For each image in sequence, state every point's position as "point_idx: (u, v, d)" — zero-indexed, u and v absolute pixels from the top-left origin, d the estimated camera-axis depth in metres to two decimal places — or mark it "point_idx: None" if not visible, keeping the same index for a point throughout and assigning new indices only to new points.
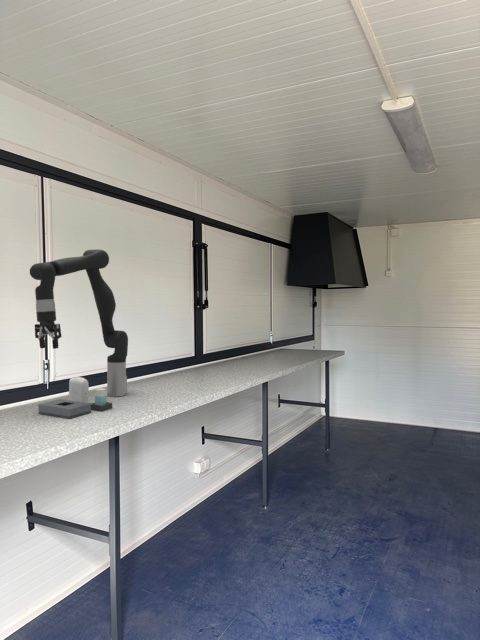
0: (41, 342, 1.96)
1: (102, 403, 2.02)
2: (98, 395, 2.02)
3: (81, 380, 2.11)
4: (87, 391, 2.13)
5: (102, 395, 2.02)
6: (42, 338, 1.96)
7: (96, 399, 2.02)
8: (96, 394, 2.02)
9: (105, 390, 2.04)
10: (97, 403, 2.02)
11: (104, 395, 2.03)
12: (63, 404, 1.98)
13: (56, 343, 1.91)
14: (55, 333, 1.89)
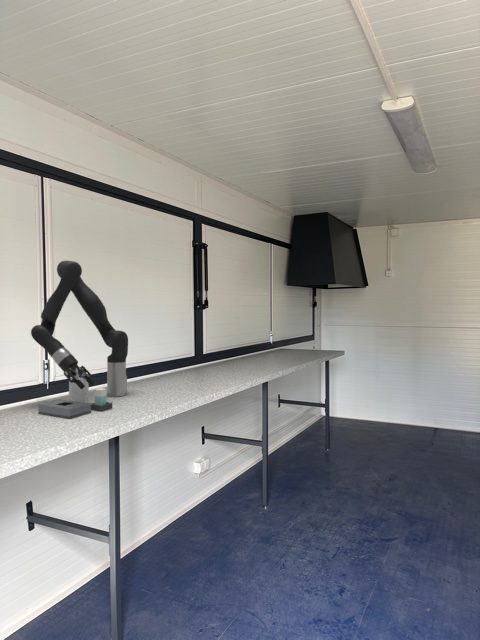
0: (88, 381, 2.09)
1: (102, 403, 2.02)
2: (98, 395, 2.02)
3: (81, 380, 2.11)
4: (87, 391, 2.13)
5: (102, 395, 2.02)
6: (87, 377, 2.09)
7: (96, 399, 2.02)
8: (96, 394, 2.02)
9: (105, 390, 2.04)
10: (97, 403, 2.02)
11: (104, 395, 2.03)
12: (63, 404, 1.98)
13: (78, 384, 2.00)
14: None
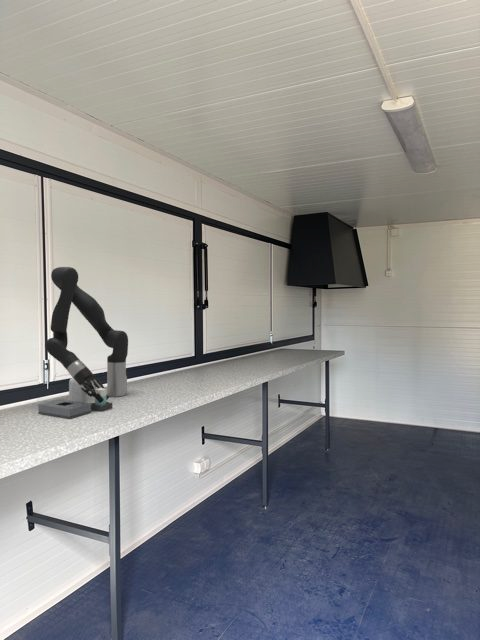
0: None
1: (102, 403, 2.02)
2: None
3: None
4: None
5: (102, 395, 2.02)
6: None
7: (96, 399, 2.02)
8: None
9: (105, 390, 2.04)
10: (97, 403, 2.02)
11: (104, 395, 2.03)
12: (63, 404, 1.98)
13: (97, 398, 2.00)
14: None
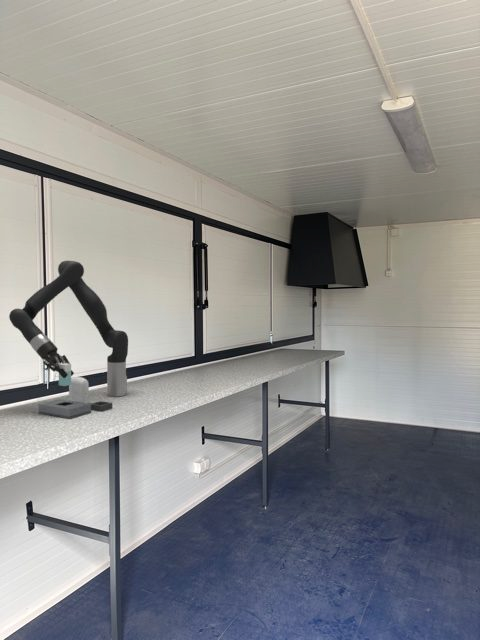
0: None
1: (66, 378, 1.93)
2: None
3: (81, 380, 2.11)
4: (87, 391, 2.13)
5: (66, 370, 1.93)
6: None
7: None
8: None
9: (69, 365, 1.95)
10: (61, 378, 1.93)
11: (68, 370, 1.94)
12: (63, 404, 1.98)
13: (61, 373, 1.91)
14: None
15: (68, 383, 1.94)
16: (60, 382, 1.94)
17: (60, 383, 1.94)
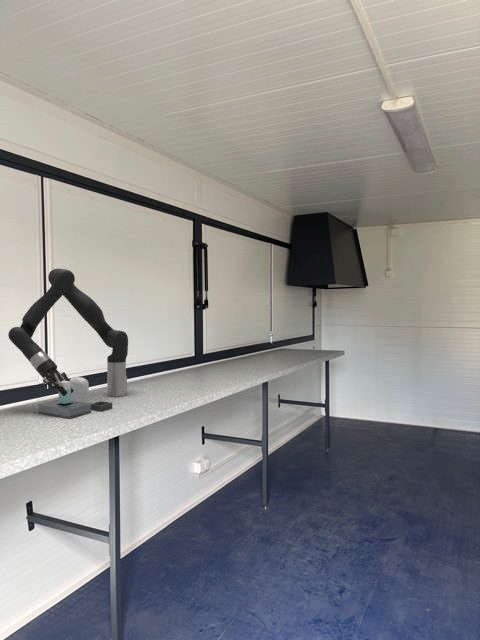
0: None
1: (66, 396, 1.94)
2: None
3: (81, 380, 2.11)
4: (87, 391, 2.13)
5: (66, 388, 1.93)
6: None
7: None
8: None
9: (69, 383, 1.95)
10: (61, 396, 1.94)
11: (68, 388, 1.95)
12: (63, 404, 1.98)
13: (60, 391, 1.91)
14: None
15: (68, 401, 1.95)
16: (60, 400, 1.94)
17: (60, 401, 1.94)
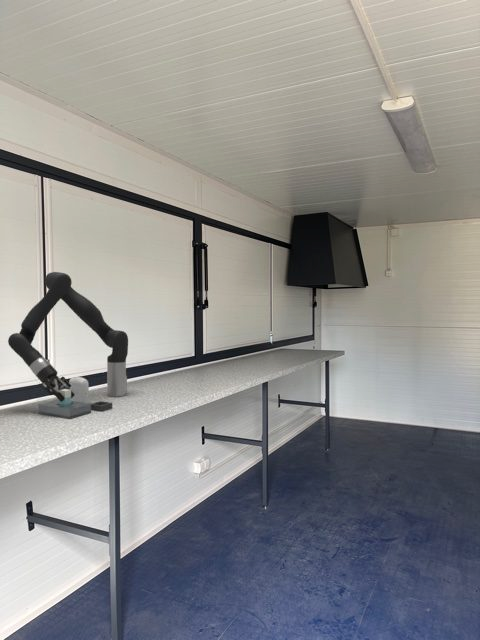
0: None
1: (66, 405, 1.94)
2: None
3: (81, 380, 2.11)
4: (87, 391, 2.13)
5: (66, 396, 1.94)
6: None
7: None
8: None
9: (69, 391, 1.95)
10: None
11: (68, 396, 1.95)
12: None
13: (58, 397, 1.90)
14: None
15: None
16: None
17: None
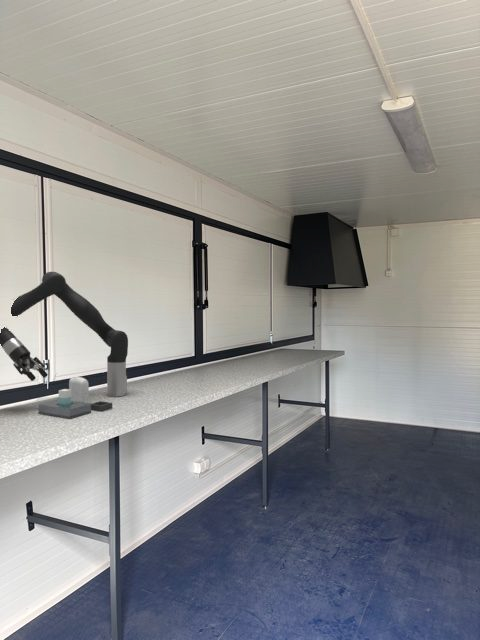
0: (41, 373, 2.01)
1: (66, 405, 1.94)
2: (62, 396, 1.93)
3: (81, 380, 2.11)
4: (87, 391, 2.13)
5: (66, 396, 1.94)
6: (39, 369, 2.01)
7: (60, 400, 1.94)
8: (60, 395, 1.94)
9: (69, 391, 1.95)
10: None
11: (68, 396, 1.95)
12: None
13: (29, 376, 1.92)
14: None
15: None
16: None
17: None
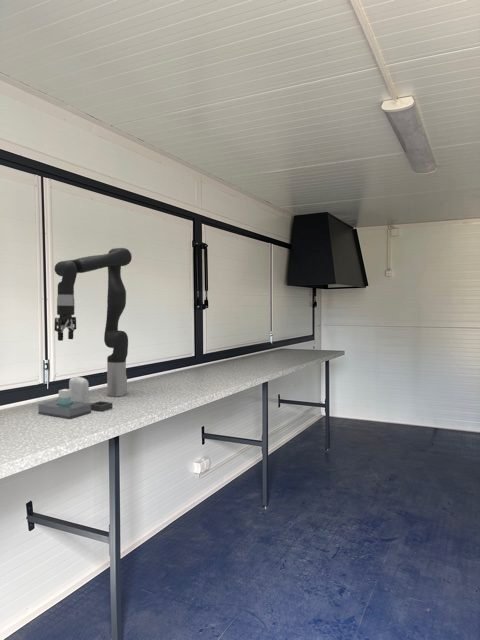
0: (69, 333, 2.14)
1: (66, 405, 1.94)
2: (62, 396, 1.93)
3: (81, 380, 2.11)
4: (87, 391, 2.13)
5: (66, 396, 1.94)
6: (70, 330, 2.14)
7: (60, 400, 1.94)
8: (60, 395, 1.94)
9: (69, 391, 1.95)
10: None
11: (68, 396, 1.95)
12: None
13: (58, 335, 2.05)
14: None
15: None
16: None
17: None
